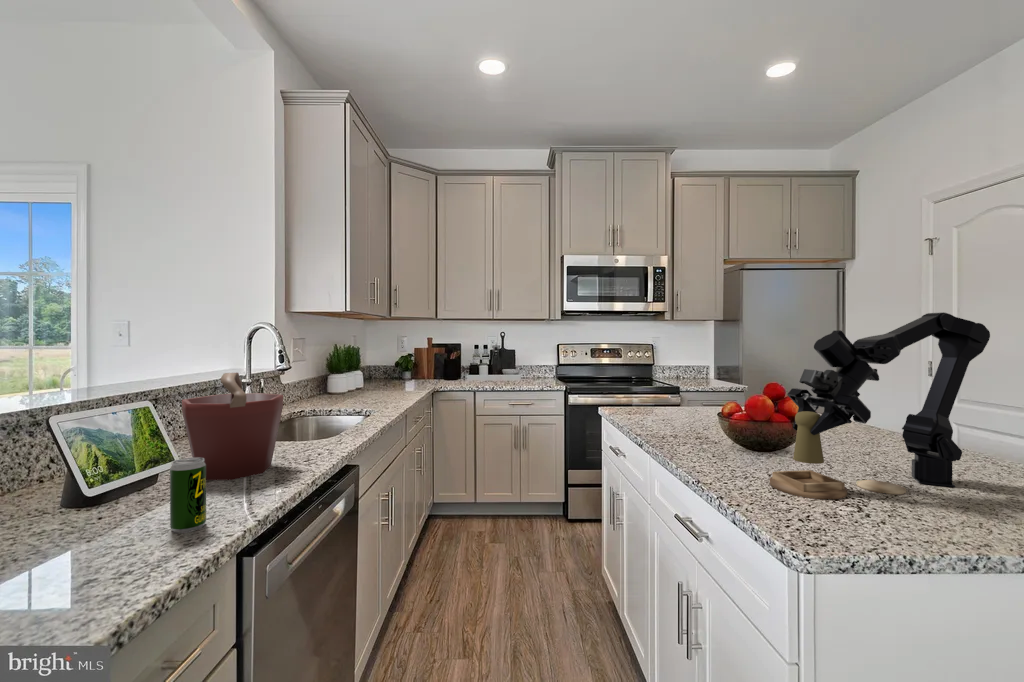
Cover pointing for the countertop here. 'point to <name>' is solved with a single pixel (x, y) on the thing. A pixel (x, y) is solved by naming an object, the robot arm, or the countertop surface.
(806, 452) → the pepper shaker
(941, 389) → the robot arm
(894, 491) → the cork coaster
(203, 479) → the green soda can
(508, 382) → the countertop surface
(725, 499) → the countertop surface
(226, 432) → the bucket
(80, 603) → the countertop surface
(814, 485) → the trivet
